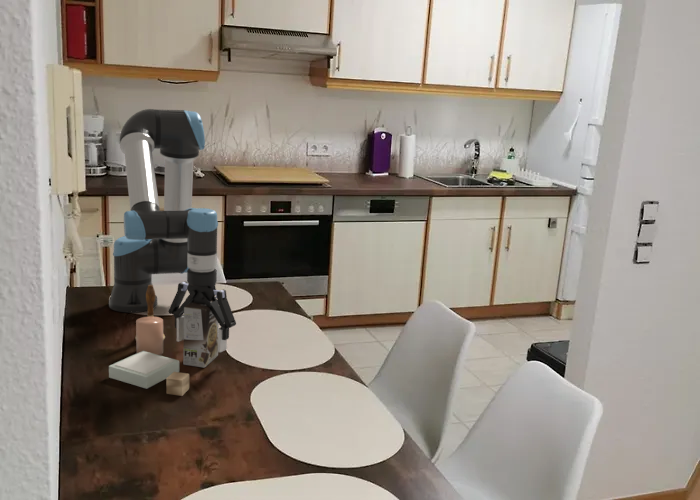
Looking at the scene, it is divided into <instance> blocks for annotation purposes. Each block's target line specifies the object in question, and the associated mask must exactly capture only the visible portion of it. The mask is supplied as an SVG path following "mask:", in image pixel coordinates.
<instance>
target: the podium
mask: <svg viewBox="0 0 700 500" xmlns="http://www.w3.org/2000/svg"><path fill="white" fill-rule="evenodd" d="M173 372H179V373H180V360H178V359H175V358H171V357H167V356H163V355H161V354H160V355H157V354H153V353H149V352H146V351H141V352H139V353H137V352H136V353H135V354H132V355H130V356H128V357H126V358H124V359H121V360H119V361H117V362H114V363H113V364H110V365H108V379H109V378H110V379H113V380H117V381H121V382H123V383H127V384H131V385H133V386H137V387H140V388H143V389H149V388H151V387H153V386H155V385H157V384H158V383H160V382H162V381H164V380H166V378H167V377H168V376H170V375H171V374H172V373H173Z"/></svg>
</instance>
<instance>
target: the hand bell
mask: <svg viewBox="0 0 700 500" xmlns="http://www.w3.org/2000/svg"><path fill="white" fill-rule="evenodd" d="M155 295H156V292H155V288H154V285H153V284H152V285H148V288H147V291H146V302H147V305H148V310H147V314H146V315H147V316H146V317H155V316H154V313H155V312H154V308H153V305H154V302H155ZM134 339H135V340H136V336H135V337H134ZM165 339H166V336H165V334H164V333H163V341H164V340H165Z"/></svg>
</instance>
